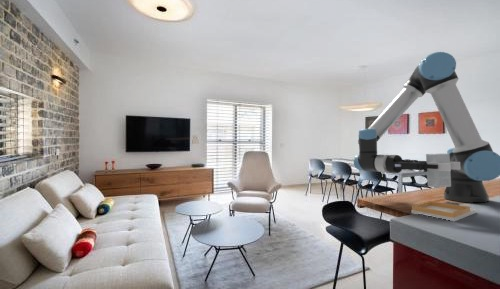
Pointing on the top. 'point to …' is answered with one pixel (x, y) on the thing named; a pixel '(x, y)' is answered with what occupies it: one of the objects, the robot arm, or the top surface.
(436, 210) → the shallow wooden tray
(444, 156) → the skincare box
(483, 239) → the top surface
